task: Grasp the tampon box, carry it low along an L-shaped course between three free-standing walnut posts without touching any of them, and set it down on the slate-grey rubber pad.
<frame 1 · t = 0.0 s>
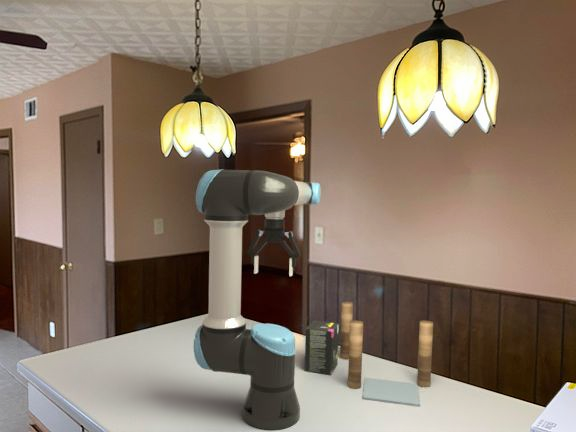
hand: (273, 274, 167), 28 cm above the kitchen island, fingers open, 13 cm apart
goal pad: (390, 392, 133), on the kitchen island
tampon box: (321, 368, 150), on the kitchen island
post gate: (345, 357, 160), on the kitchen island
post corner: (354, 386, 137), on the kitchen island
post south: (423, 385, 139), on the kitchen island
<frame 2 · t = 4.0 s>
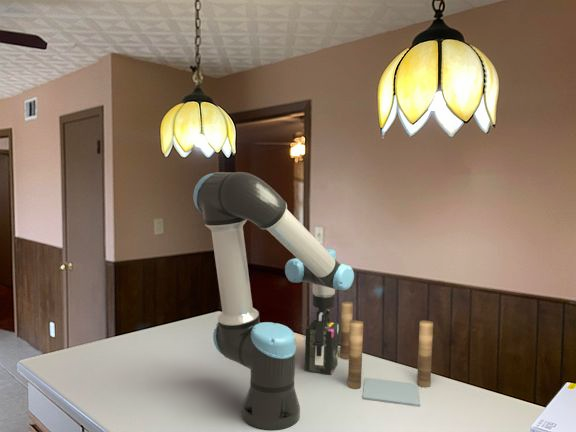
hand: (321, 358, 150), 3 cm above the kitchen island, fingers closed on tampon box, 11 cm apart
tampon box: (321, 367, 151), on the kitchen island, touching gripper
everything else where it was.
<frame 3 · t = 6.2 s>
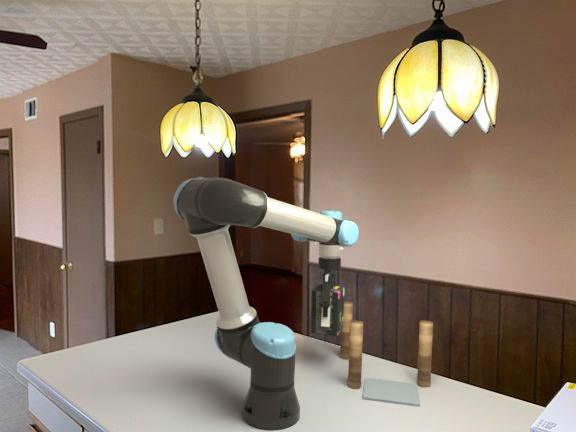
hand: (327, 321, 149), 16 cm above the kitchen island, fingers closed on tampon box, 11 cm apart
tampon box: (327, 331, 149), point 13 cm above the kitchen island, touching gripper
everything else where it was.
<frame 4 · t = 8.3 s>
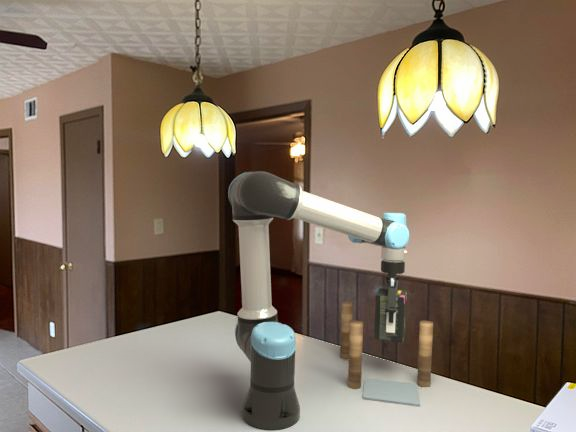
hand: (390, 326, 145), 16 cm above the kitchen island, fingers closed on tampon box, 11 cm apart
tampon box: (389, 336, 145), point 13 cm above the kitchen island, touching gripper
everything else where it was.
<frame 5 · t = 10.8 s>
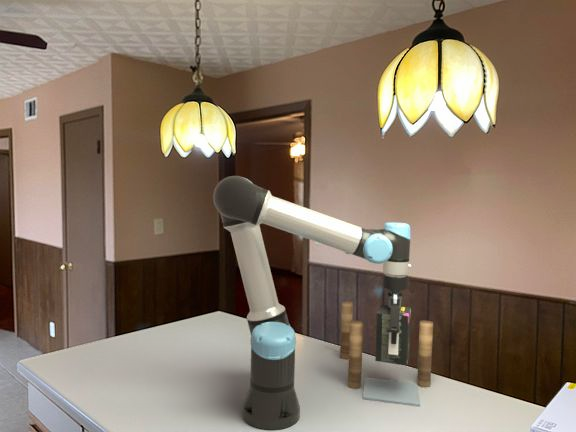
hand: (393, 347, 132), 14 cm above the kitchen island, fingers closed on tampon box, 11 cm apart
tampon box: (392, 358, 133), point 10 cm above the kitchen island, touching gripper
everything else where it was.
when the fingers open (5 cm above the kitchen island, at t = 12.8 s): tampon box drops 1 cm, resting on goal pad.
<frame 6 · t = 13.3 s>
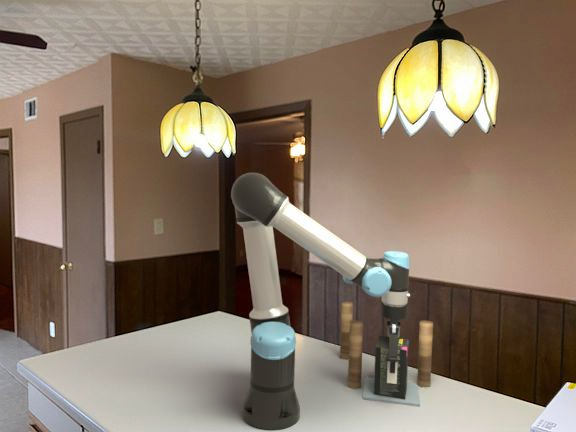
hand: (391, 373, 133), 6 cm above the kitchen island, fingers open, 13 cm apart
tampon box: (390, 390, 133), resting on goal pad
everything else where it was.
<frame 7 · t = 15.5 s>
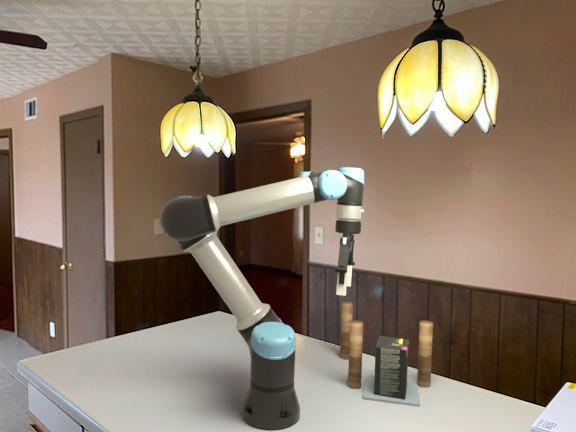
hand: (343, 290, 133), 30 cm above the kitchen island, fingers open, 13 cm apart
nothing on the kitchen island moved.
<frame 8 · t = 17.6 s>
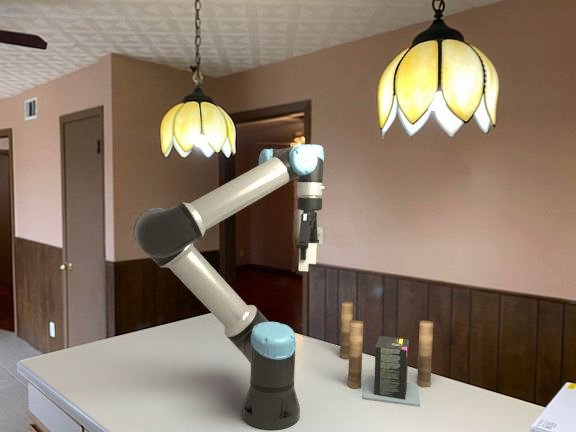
hand: (307, 267, 134), 37 cm above the kitchen island, fingers open, 13 cm apart
nothing on the kitchen island moved.
at the end: tampon box inside the target area on the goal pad (0.3 cm from its centre), point 0.4 cm above the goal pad's base; post corner moved 0.0 cm from its start; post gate moved 0.0 cm from its start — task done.
